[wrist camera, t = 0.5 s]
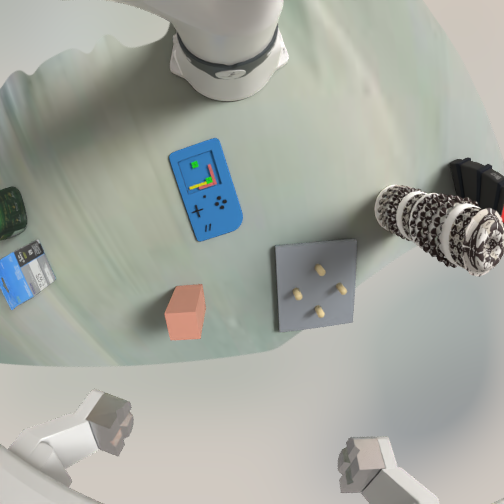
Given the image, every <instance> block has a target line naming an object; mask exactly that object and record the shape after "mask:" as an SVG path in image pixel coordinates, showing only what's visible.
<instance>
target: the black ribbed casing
mask: <svg viewBox="0 0 504 504" xmlns="http://www.w3.org/2000/svg"><path fill="white" fill-rule="evenodd" d="M450 168H451V172H452V176H453V180H454V184H455V188H456V193H457V196H459V197H461V198H463V199H464V198H465V197H468V198H470V199H471V201H476V202H477V203H478V205H479V208H481V209H487V208H491V209H493V210H495V211H497V212H498V214H499V215H500V217H501V218H502V221H503V226H504V176H503V175H501V174H500V173H498V172H496V171H494V170H493V169H492V166H491V165H489V164H487V165H485V166H484V165H482V164H480V163H477V162H473V161H471V158H465V159H463V160H462V159H457V160H455V161H453V162H451V163H450ZM468 204H470V203H468Z"/></svg>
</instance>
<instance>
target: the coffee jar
mask: <svg viewBox="0 0 504 504" xmlns="http://www.w3.org/2000/svg"><path fill="white" fill-rule="evenodd" d="M26 225H27V217H26V212H25V207H24V203H23V200H22V197H21V194H20V192H19V190H18V189H17V188H15V187H9V188H5V189H2V190H0V240H4V239H7V238H10V237H13V236H16V235H18V234H20V233H21V232H23V231H24V230H25V228H26Z"/></svg>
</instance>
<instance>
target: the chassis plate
mask: <svg viewBox="0 0 504 504" xmlns="http://www.w3.org/2000/svg"><path fill="white" fill-rule="evenodd" d="M356 257H357V240H356V239H343V240H332V241H320V242H309V243H297V244H286V245H275V259H276V278H277V298H278V320H279V331H280V332H287V331H295V330H303V329H311V328H318V327H326V326H332V325H339V324H345V323H351V322H353V311H354V296H355V280H356Z"/></svg>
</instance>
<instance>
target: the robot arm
mask: <svg viewBox="0 0 504 504" xmlns="http://www.w3.org/2000/svg"><path fill="white" fill-rule="evenodd" d="M106 1H113V2H118V3H123V4H127V5H130V6H134V7H137V8H140V9H143V10H145V11H148V12H151V13H153V14H155V15H157V16H160V17H162V18H164V19H166V20H168V21H169V22H171V23H172V24H173V26H174V27H175V29H176V35H174V36H173V43H174V45H173V50H172V55H171V60H170V66H169V67H170V70H171V72H172V73H174V74H175V75H177V76H180V77H182V78H185V79H186V80H187V81H188V82H189V83H190V84H191V85H192V87H193V88H194V89H195V90H197V91H198V92H199V93H201V94H202V95H204V96H206V97H208V98H211V99H215V100H219V101H236V100H241V99H244V98H247V97H249V96H252V95H253V94H255V93H257V92H258V91H259V90H261V89H262V88H263V87H264V86H265V85H266V84H267V82H268V81H269V79H270V78H271V76H272V75H273V73H274V72H275V71H276V70H278V69H280V68H281V67H283V66H284V65H285V64H286V63H287V62H288V59H289V56H288V53H287V50H286V47H285V44H284V42H283V39H282V36H281V33H280V31H279V28H278V20H279V17H280V14H281V11H282V8H283V0H106ZM130 409H131V403H130V402H129V401H126V400H124V399H121V398H118V397H116V396H113V395H110V394H108V393H105V392H103V391H100V390H97V389H93V390H91V391H90V393H89V394H88V395H87V397H86V398H85V399H84V401H83V402H82V403H81V405H80V406H79V407H78V409H77V410H76V411H75V413H74V414H71V413H69V414H66V415H64V416H61V417H58V418H55V419H53V420H50V421H47V422H44V423H41V424H38V425H35V426H32V427H29V428H26V429H24V430H23V431H22V432H21V433H20V435H19V436H18V437H17V438H16V440H15V441H14V442H13V443H12V445H11V446H10V447H9V448H8V449H6V448H5V447H4V446H2V445H1V444H0V504H103V503H101V502H98V501H96V500H94V499H92V498H90V497H87V496H85V495H83V494H81V493H79V492H77V491H75V490H73V489H71V488H69V486H70V484H71V483H72V480H71V478H70V476H69V475H68V473H67V471H66V470H65V469H66V468H68V467H70V466H72V465H73V464H75V463H77V462H79V461H81V460H83V459H84V458H86V457H88V456H90V455H91V454H93V453H95V452H97V451H98V450H99V449H100V450H102V451H105V452H108V453H111V454H113V455H116V456H119V454H120V452H121V451H122V449H123V447H124V445H125V444H124V440H123V439H124V438H126V437H128V436H129V435H130V433H131V431H132V427H133V415H132V414H131V413H130ZM346 444H347V447H346V448H344V449H342V451H341V453H340V454H339V458H338V471H339V472H340V473H341V474H342V477H341V478H340V480H339V481H340V489H341V493H358V492H362V493H361V494H362V495H363V496H364V497H365V499H366V500H367V501H368V502H369V503H370V504H440V503H439V500H438V497H437V496H435V495H434V494H432V492H430V491H429V490H428V489H426V488H425V487H424V486H423V485H422V484H420V483H419V482H418V481H417V480H416V479H414V478H413V477H412V476H411V475H410V474H408V473H407V472H406V471H405V470H404V469H403V468H401V467H398V466H397V463H396V460H395V456H394V453H393V450H392V447H391V444H390V441H389V438H388V437H387V436H385V437H384V436H383V437H351V438H349V439H348V441H347V442H346ZM492 504H504V498H503V499H501V500H498V501H496V502H494V503H492Z"/></svg>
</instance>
